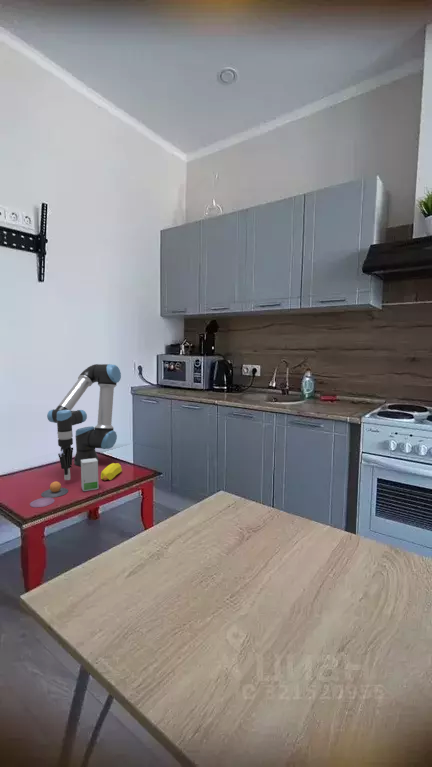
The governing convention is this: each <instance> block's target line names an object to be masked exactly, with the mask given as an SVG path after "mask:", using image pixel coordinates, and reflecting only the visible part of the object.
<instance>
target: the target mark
mask: <svg viewBox="0 0 432 767" xmlns="http://www.w3.org/2000/svg"><path fill="white" fill-rule="evenodd" d="M68 493H69V489H68V488H65V487H61V489H60V490H59V491H58V492H52V491H51V490H50V488H48V489H46V490H44V491H43V492H41V494H40V495H41V498H53V499H55V498H58V497H62V496H64V495H66V494H68Z"/></svg>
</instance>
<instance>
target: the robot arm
mask: <svg viewBox="0 0 432 767" xmlns="http://www.w3.org/2000/svg"><path fill="white" fill-rule="evenodd" d="M121 378H122V373H121V369H120V367H119V366H118V365H116V364H110V363H109V364H108V363H107V364H106V363H104V364H103V363H101V364H99V363H97V364H92V365H90V366H88V367H86V368H85V369H84V370H83V371H82V372H81V373H80V374H79V375H78V377H77V380H76V382H75V383H74V384H73V386H72V387H71V389H70V390H69V391H68V392H67V394H66V395H65V396H64V398H63V399H62V400H61V402H60V403H59V404H58V405H57V406H56V408H55V409H50V410H48V412H47V416H46V417H47V420H48V422H51V423H54V424H56V426H57V433H56V434H57V438H58V439H57V446H58V447H60V452H59V453H58V455H57V456H58V458H59V462H60V467H61V469H62V470H63V473H64V475H63V476H64V477H63V478H64V481H70V480H71V468H72V467H73V464H74V465H75V466H78V467H79V466H80V467H81V460H83V459H92V458H96V459H97V460H98V462H99V456H98V454H97V451H96V449H101V450H102V449H103V450H111V449H112V448H113V447H115V444H116V442H117V437H118V435H117V431H115V430H114V426H113V425H112V422H113V421H112V420H113V419H112V418H113V407H114V406H113V405H114V393H115V392H114V390H115V387H116V386H117V383H119V382H120V381H121V380H122V379H121ZM95 383H97V385H98V386H99V399H98V410H97V412H98V414H97V424H96V425H95V427H94V426H85V427H81V428H78V429H76V430H75V436H74V437H75V448H76V449H75V450H76V453H75V455H74V458H73V454H74V453H73V452H74V447H72V446H73V444H74V439H73V427H74V426H76V425H79V424H82V423H84V422H86V420H87V418H88V415H87V413H86V411H85V410H84V409H77V410H73V409H74V408H75V406H76V404H77V403H78V401H79V400H80V399H81V397H82V396H83V395H84V393H85V392H86V391H87V389H88V388H89V387H91V386H92V385H93V384H95ZM73 459H74V460H73Z"/></svg>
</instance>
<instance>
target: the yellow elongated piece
mask: <svg viewBox="0 0 432 767" xmlns="http://www.w3.org/2000/svg"><path fill="white" fill-rule="evenodd" d="M122 471H123V469H122V465H121V464H120V463H119V462H116V463H114V462H112V463H110V464H108V465H107V466H106V467H105V468H104V469H103V470H101V473H100V479H101V480H103V481H107V480H109V481H112V480H113V479H114V478H115V477H116V476H117V475H119V474H120V473H121V472H122Z"/></svg>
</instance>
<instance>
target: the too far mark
mask: <svg viewBox="0 0 432 767" xmlns="http://www.w3.org/2000/svg"><path fill="white" fill-rule="evenodd" d="M54 503H55V498H44V497H41V498H37V499H36V498H35V499H34V500H33V501H31V502H29V506H30V507H31V508H44V507H48V506H50V505H52V504H54Z"/></svg>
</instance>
